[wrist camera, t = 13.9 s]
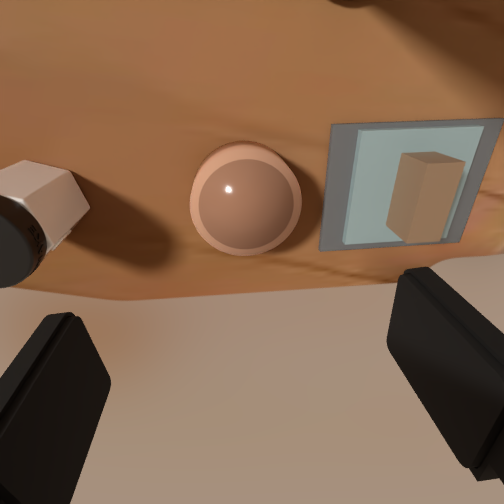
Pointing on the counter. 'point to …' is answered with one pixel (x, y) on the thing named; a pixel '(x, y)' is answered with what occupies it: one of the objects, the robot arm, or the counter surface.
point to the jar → (35, 216)
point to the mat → (342, 167)
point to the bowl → (245, 199)
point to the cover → (408, 182)
